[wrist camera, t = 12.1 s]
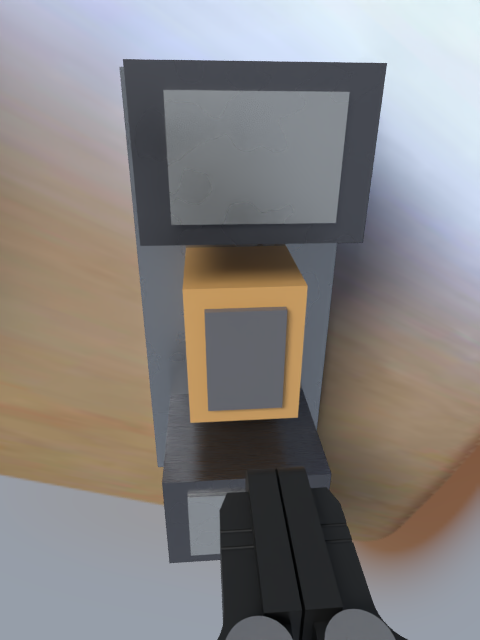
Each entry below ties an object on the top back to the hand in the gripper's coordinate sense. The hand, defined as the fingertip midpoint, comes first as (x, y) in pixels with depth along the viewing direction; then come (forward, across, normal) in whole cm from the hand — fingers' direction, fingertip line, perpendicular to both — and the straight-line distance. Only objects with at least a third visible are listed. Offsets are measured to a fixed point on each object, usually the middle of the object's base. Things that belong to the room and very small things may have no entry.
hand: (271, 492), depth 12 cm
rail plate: (+13, 0, 0) cm, 13 cm away
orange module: (+11, 0, 0) cm, 11 cm away
